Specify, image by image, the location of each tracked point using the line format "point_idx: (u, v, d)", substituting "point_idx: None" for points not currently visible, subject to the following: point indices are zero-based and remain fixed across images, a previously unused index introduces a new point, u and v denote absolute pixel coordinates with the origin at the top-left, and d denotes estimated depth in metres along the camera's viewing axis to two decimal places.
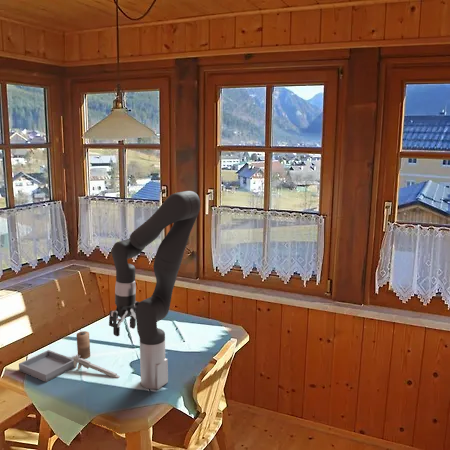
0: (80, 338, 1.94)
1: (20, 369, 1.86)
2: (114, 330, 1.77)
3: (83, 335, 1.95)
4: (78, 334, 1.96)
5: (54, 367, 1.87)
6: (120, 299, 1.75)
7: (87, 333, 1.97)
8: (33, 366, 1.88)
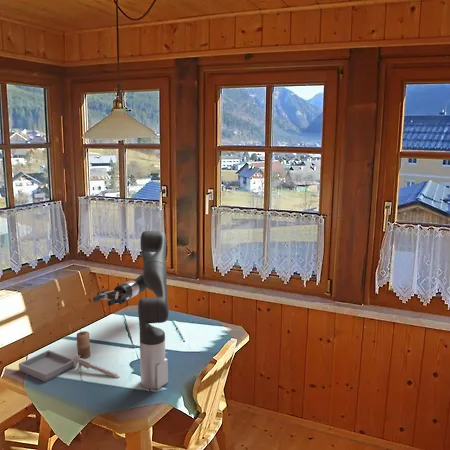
0: (80, 338, 1.94)
1: (20, 369, 1.86)
2: None
3: (83, 335, 1.95)
4: (78, 334, 1.96)
5: (54, 367, 1.87)
6: None
7: (87, 333, 1.97)
8: (33, 366, 1.88)
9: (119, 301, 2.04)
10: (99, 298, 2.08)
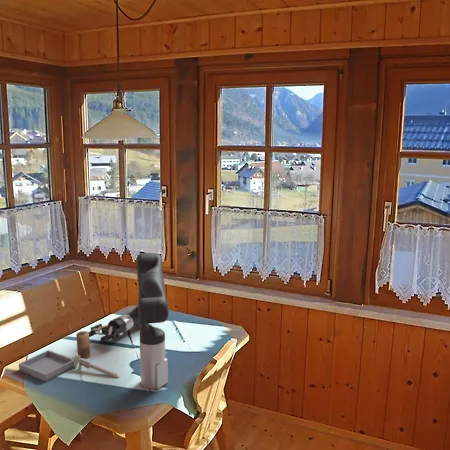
0: (80, 338, 1.94)
1: (20, 369, 1.86)
2: None
3: (83, 335, 1.95)
4: (78, 334, 1.96)
5: (54, 367, 1.87)
6: None
7: (87, 333, 1.97)
8: (33, 366, 1.88)
9: (112, 337, 2.03)
10: (92, 333, 2.07)
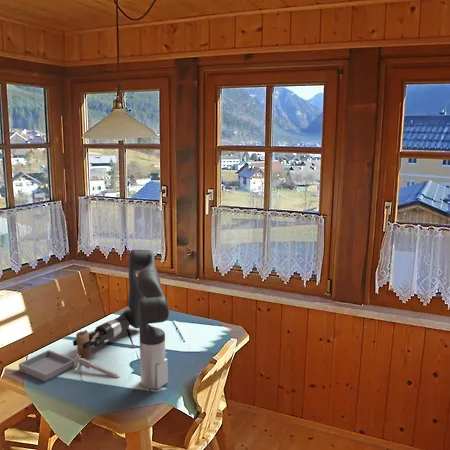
0: (80, 338, 1.94)
1: (20, 369, 1.86)
2: None
3: (83, 335, 1.95)
4: (78, 334, 1.96)
5: (54, 367, 1.87)
6: None
7: (87, 333, 1.97)
8: (33, 366, 1.88)
9: (94, 343, 1.96)
10: None
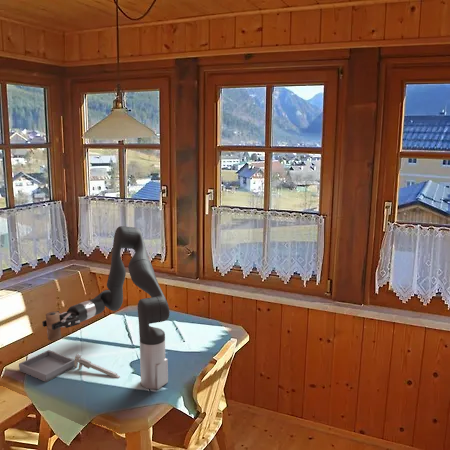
0: (49, 318, 1.84)
1: (20, 369, 1.86)
2: None
3: (52, 315, 1.85)
4: (47, 314, 1.86)
5: (54, 367, 1.87)
6: None
7: (57, 313, 1.87)
8: (33, 366, 1.88)
9: (65, 324, 1.86)
10: None
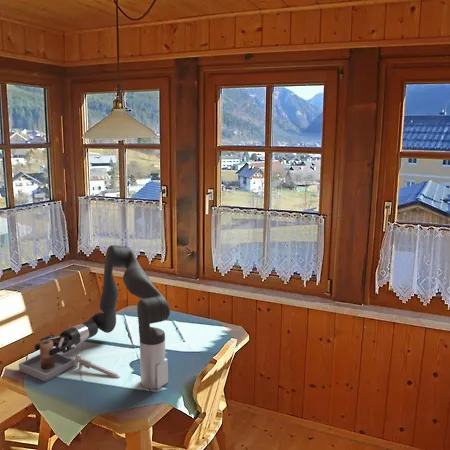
0: (43, 347, 1.84)
1: (20, 369, 1.86)
2: None
3: (46, 344, 1.84)
4: (41, 343, 1.85)
5: (54, 367, 1.87)
6: None
7: (51, 342, 1.86)
8: (33, 366, 1.88)
9: (62, 350, 1.85)
10: None
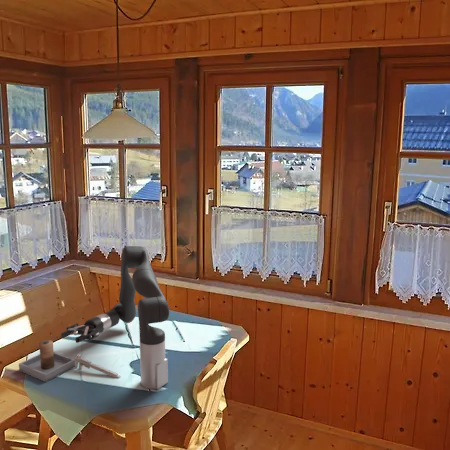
0: (43, 347, 1.84)
1: (20, 369, 1.86)
2: None
3: (46, 344, 1.84)
4: (41, 343, 1.85)
5: (54, 367, 1.87)
6: None
7: (51, 342, 1.86)
8: (33, 366, 1.88)
9: (88, 337, 1.96)
10: (68, 333, 2.00)
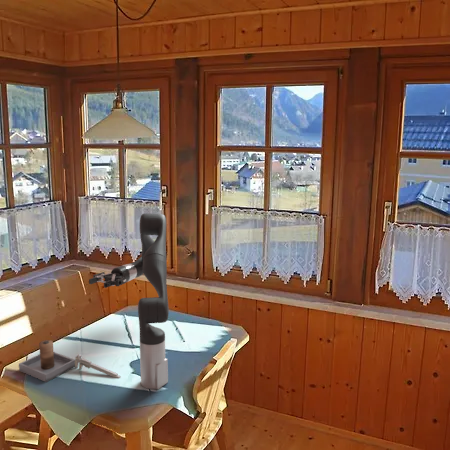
0: (43, 347, 1.84)
1: (20, 369, 1.86)
2: None
3: (46, 344, 1.84)
4: (41, 343, 1.85)
5: (54, 367, 1.87)
6: None
7: (51, 342, 1.86)
8: (33, 366, 1.88)
9: (116, 283, 1.98)
10: (95, 280, 2.02)
